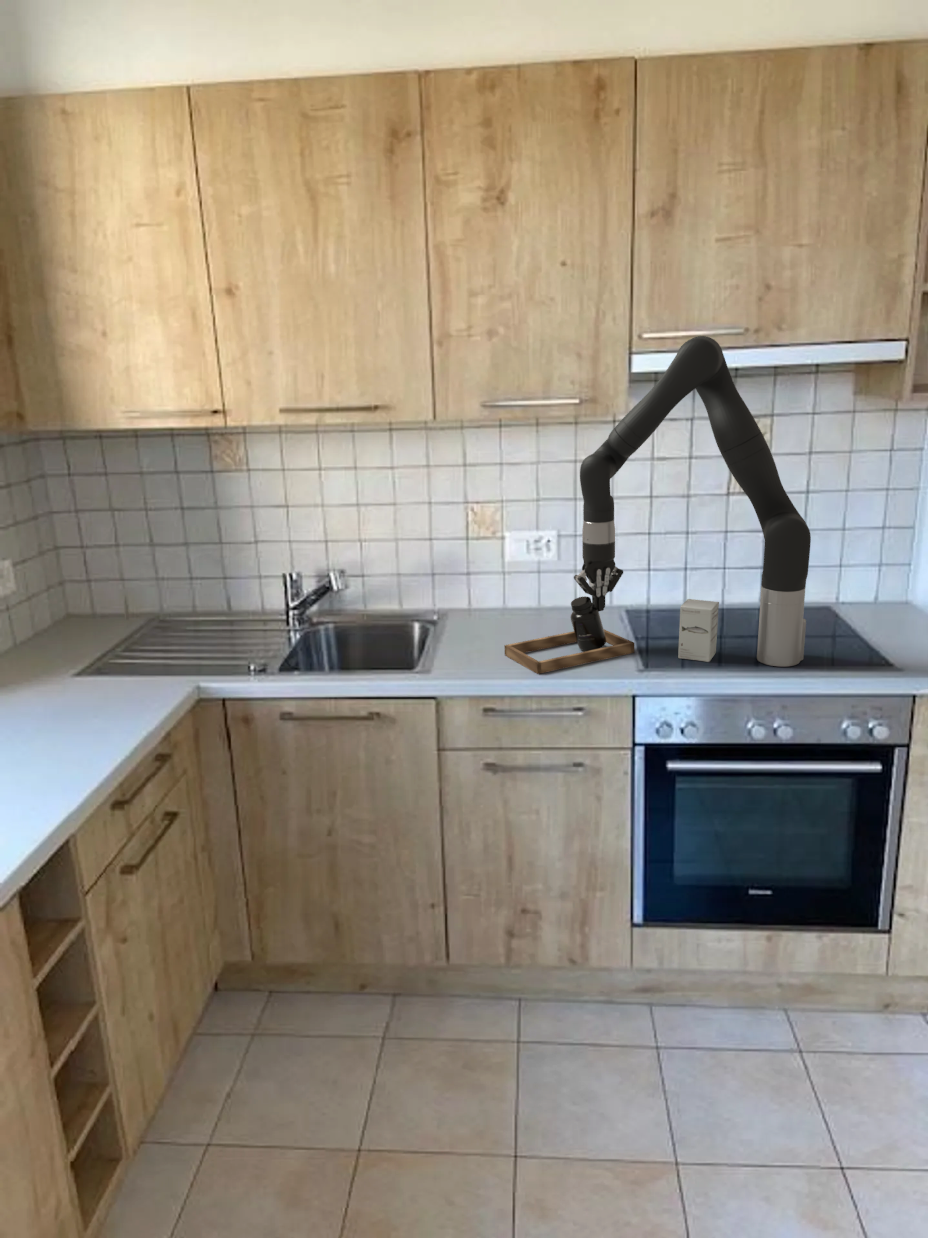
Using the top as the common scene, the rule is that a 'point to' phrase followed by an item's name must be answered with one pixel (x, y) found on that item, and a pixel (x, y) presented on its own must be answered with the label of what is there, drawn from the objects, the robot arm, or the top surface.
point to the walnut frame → (518, 650)
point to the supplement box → (698, 630)
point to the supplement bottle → (587, 624)
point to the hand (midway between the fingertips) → (598, 610)
